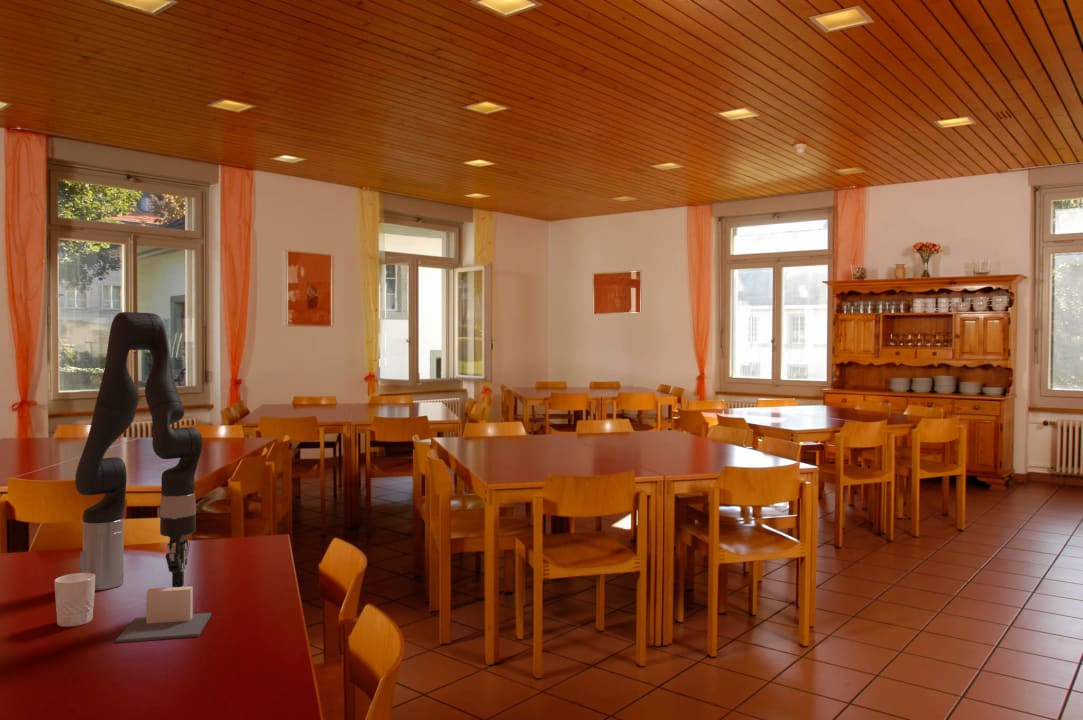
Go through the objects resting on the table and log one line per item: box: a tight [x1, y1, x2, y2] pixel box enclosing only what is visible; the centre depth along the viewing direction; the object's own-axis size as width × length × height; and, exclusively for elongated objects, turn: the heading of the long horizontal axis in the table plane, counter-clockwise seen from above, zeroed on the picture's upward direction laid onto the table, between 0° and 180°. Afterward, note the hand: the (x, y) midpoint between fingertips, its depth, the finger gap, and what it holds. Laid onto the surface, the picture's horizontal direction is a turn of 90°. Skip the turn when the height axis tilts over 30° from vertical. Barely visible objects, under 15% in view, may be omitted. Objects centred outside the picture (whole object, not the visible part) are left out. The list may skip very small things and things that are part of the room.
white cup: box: [54, 572, 96, 628], centre depth 173 cm, size 8×8×10 cm
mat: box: [115, 612, 212, 644], centre depth 169 cm, size 16×14×1 cm
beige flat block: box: [146, 585, 194, 624], centre depth 172 cm, size 9×2×7 cm, turn 103°
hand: (178, 587), depth 179 cm, fingers closed
